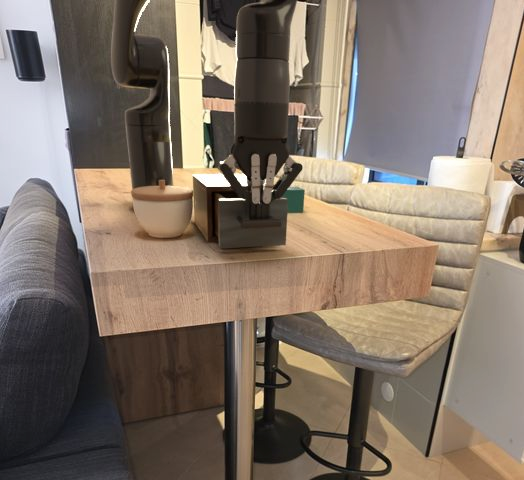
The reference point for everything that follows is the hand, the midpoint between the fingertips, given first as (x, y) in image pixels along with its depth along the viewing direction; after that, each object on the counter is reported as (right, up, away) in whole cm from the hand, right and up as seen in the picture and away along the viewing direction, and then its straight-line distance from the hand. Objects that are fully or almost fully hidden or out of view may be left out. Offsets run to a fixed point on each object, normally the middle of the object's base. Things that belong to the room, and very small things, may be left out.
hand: (258, 227), depth 70 cm
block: (+7, +14, +38) cm, 41 cm away
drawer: (-2, 0, +8) cm, 8 cm away
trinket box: (-17, +2, +14) cm, 22 cm away
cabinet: (-5, +4, +18) cm, 19 cm away
